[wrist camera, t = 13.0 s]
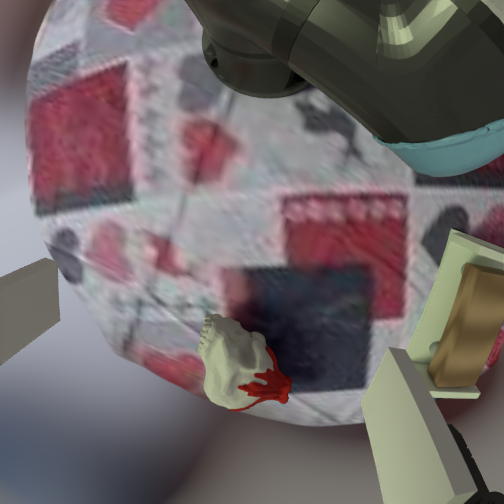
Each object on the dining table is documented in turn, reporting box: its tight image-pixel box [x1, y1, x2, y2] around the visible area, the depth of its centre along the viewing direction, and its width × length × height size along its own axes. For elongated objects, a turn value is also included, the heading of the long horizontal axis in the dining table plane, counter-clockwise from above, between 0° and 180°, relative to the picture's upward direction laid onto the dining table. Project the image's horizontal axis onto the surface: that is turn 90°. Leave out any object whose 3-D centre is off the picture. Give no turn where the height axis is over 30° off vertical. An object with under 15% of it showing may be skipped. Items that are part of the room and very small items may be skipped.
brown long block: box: [427, 262, 504, 387], centre depth 31 cm, size 16×7×4 cm, turn 173°
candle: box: [198, 314, 293, 411], centre depth 37 cm, size 9×11×15 cm
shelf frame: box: [406, 229, 504, 398], centre depth 32 cm, size 21×12×8 cm, turn 168°
